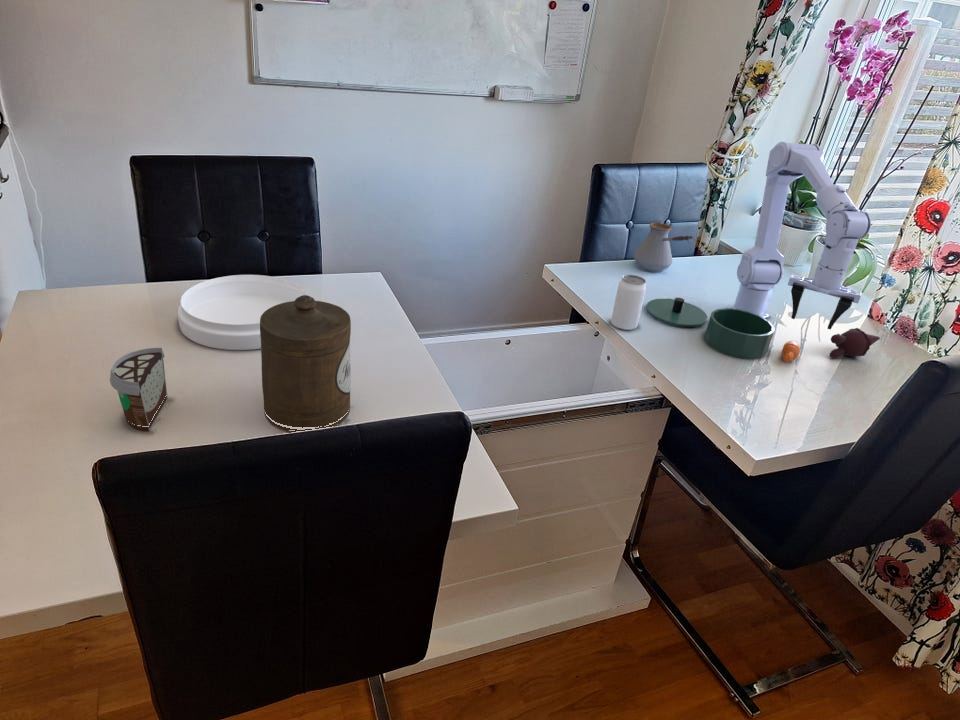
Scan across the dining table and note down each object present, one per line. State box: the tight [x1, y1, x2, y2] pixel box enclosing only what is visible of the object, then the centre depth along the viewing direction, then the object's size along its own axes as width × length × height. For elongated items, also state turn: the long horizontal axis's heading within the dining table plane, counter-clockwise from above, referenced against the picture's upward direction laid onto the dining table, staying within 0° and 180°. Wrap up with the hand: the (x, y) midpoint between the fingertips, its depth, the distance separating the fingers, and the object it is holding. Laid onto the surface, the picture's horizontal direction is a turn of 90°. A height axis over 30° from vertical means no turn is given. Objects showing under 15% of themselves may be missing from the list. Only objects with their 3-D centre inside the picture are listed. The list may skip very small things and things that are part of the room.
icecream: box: [829, 327, 881, 359], centre depth 159 cm, size 7×7×15 cm
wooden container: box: [260, 294, 352, 433], centre depth 113 cm, size 15×15×22 cm
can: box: [610, 274, 647, 331], centre depth 160 cm, size 6×6×12 cm
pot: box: [704, 307, 775, 360], centre depth 158 cm, size 14×14×6 cm
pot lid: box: [645, 297, 708, 328], centre depth 170 cm, size 15×15×4 cm
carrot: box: [781, 340, 801, 363], centre depth 155 cm, size 10×4×4 cm
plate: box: [177, 274, 306, 351], centre depth 144 cm, size 27×27×5 cm
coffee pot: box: [633, 222, 696, 273], centre depth 193 cm, size 21×12×15 cm, turn 18°
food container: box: [109, 347, 169, 433], centre depth 110 cm, size 12×6×10 cm, turn 5°
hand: (811, 322), depth 150 cm, fingers open, 7 cm apart
